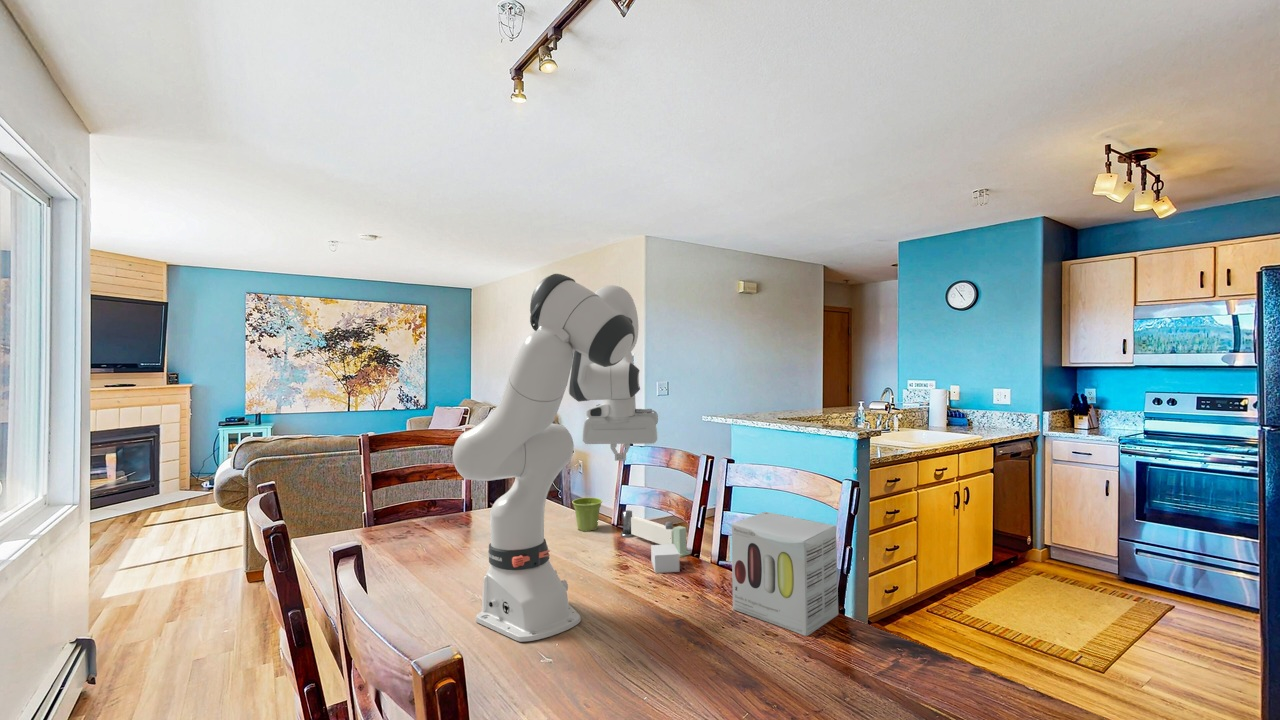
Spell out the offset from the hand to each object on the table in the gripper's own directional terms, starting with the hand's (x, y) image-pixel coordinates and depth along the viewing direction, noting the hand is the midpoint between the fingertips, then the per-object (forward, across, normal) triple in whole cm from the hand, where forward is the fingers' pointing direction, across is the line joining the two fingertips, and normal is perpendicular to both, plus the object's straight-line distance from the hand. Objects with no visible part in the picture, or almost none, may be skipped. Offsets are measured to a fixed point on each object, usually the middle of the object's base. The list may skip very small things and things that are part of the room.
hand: (620, 460), depth 158 cm
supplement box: (+25, -38, +36) cm, 58 cm away
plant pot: (+25, +14, -23) cm, 37 cm away
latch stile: (+25, -16, 0) cm, 30 cm away
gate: (+24, -8, -8) cm, 26 cm away
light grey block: (+25, -12, +10) cm, 30 cm away
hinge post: (+25, +1, -16) cm, 30 cm away
